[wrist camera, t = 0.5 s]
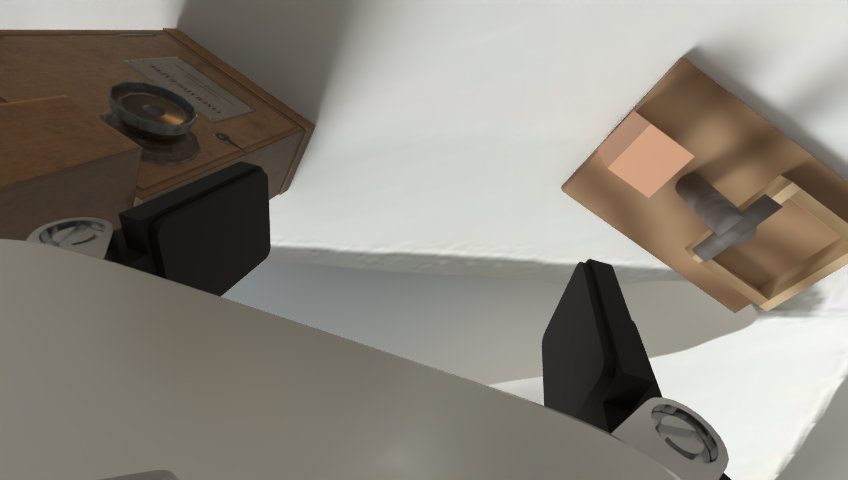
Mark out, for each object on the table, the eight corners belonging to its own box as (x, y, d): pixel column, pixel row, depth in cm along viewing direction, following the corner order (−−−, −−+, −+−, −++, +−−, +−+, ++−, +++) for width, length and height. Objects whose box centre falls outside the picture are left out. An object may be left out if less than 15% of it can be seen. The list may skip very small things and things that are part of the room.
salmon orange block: (633, 110, 35) (650, 123, 30) (671, 138, 35) (694, 156, 30) (597, 149, 37) (607, 168, 32) (632, 175, 37) (648, 198, 32)
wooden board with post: (680, 57, 33) (742, 69, 23) (881, 211, 35) (1018, 281, 25) (561, 186, 41) (570, 235, 31) (730, 306, 43) (788, 387, 33)
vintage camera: (328, 97, 43) (-139, 247, 13) (287, 190, 50) (-68, 420, 20) (182, -7, 41) (-725, -106, 11) (162, 105, 49) (-416, 220, 19)
